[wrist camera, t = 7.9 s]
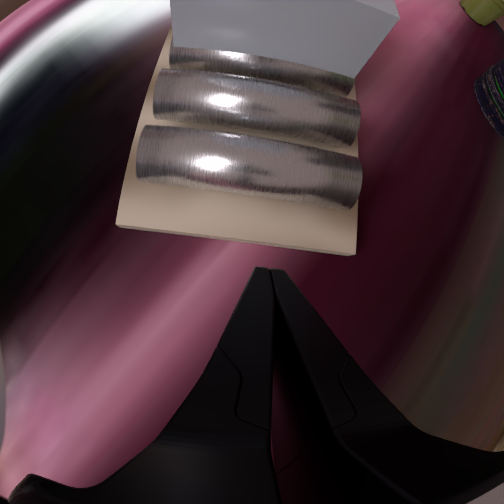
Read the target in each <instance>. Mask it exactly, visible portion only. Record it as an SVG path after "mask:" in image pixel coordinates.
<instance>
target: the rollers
mask: <svg viewBox="0 0 504 504" xmlns="http://www.w3.org/2000/svg"><path fill="white" fill-rule="evenodd" d="M169 65H170V68H162V69H161V70H160V72H159V74H158V77H157V80H156V83H155V88H154V94H153V115H154V118H155V119H159V120H172V121H183V122H193V123H203V124H211V125H219V126H227V127H234V128H241V129H248V130H255V131H261V132H267V133H273V134H278V135H284V136H289V137H294V138H299V139H304V140H309V141H314V142H318V143H323V144H327V145H332V146H336V147H340V148H344V149H347V148H349V147H350V146H351V145H352V144H353V142H354V140H355V138H356V136H357V133H358V130H359V126H360V119H361V111H360V106H359V103H358V102H357V101H355V100H352V99H348V98H345V97H347V96H348V94H349V93H350V91H351V89H352V87H353V85H354V82H355V78H356V77H355V78H351V77H348V76H344V75H341V74H338V73H334V72H330V71H327V70H323V69H319V68H315V67H311V66H307V65H302V64H298V63H294V62H289V61H284V60H279V59H274V58H269V57H263V56H257V55H251V54H244V53H237V52H230V51H221V50H212V49H201V48H188V47H174V44H173V35H172V39H171V44H170V51H169ZM136 176H137V180H138V181H139V182H141V183H152V184H162V185H171V186H180V187H189V188H198V189H206V190H214V191H222V192H229V193H237V194H244V195H251V196H258V197H265V198H272V199H278V200H285V201H291V202H297V203H304V204H310V205H316V206H321V207H327V208H333V209H338V210H344V211H348V210H350V209H351V208H352V207H353V206H354V205H355V203H356V201H357V199H358V197H359V194H360V190H361V185H362V166H361V162H360V160H359V159H358V158H357V157H355V156H351V155H347V154H342V153H338V152H334V151H329V150H325V149H320V148H316V147H311V146H306V145H301V144H296V143H291V142H285V141H280V140H274V139H268V138H262V137H256V136H250V135H243V134H236V133H229V132H221V131H213V130H205V129H196V128H186V127H175V126H163V125H149V124H147V125H145V127H144V128H143V130H142V132H141V135H140V138H139V142H138V146H137V152H136Z"/></svg>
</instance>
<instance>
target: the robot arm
mask: <svg viewBox="0 0 504 504" xmlns="http://www.w3.org/2000/svg"><path fill="white" fill-rule="evenodd" d="M270 431H271V433H270ZM271 436H272V445H273V455H274V464H275V470H274V465H273V461H272V456H271V442H270V439H271ZM275 473H276V474H275ZM0 504H504V451H500V452H489V451H484V450H480V449H476V448H473V447H469V446H465V445H462V444H459V443H455V442H452V441H449V440H445V439H442V438H439V437H436V436H433V435H430V434H427V433H425V432H423V431H421V430H420V429H418V428H417V427H415V426H414V425H413V424H412V423H411V422H409V421H408V420H407V419H406V418H405V416H404V415H403V414H402V413H401V412H400V411H399V410H398V409H397V408H396V407H395V406H394V405H393V404H392V403H391V402H390V401H389V400H388V398H387V397H386V396H385V395H384V394H383V393H382V392H381V391H380V390H379V389H378V388H377V387H376V386H375V384H374V383H373V382H372V381H371V380H370V379H369V378H368V377H367V375H366V374H365V373H364V372H363V370H362V369H361V368H360V367H359V365H358V364H357V363H356V362H355V360H354V359H353V358H352V356H351V355H350V354H348V351H347V350H346V349H345V347H344V346H343V345H342V344H341V342H340V341H339V340H338V338H337V337H336V336H335V335H334V333H333V332H332V331H331V329H330V328H329V327H328V326H327V324H326V323H325V322H324V320H323V319H322V318H321V316H320V315H319V314H318V313H317V311H316V310H315V309H314V308H313V306H312V305H311V304H310V302H309V301H308V300H307V299H306V297H305V296H304V295H303V293H302V292H301V291H300V290H299V288H298V287H297V286H296V285H295V283H294V282H293V281H292V279H291V278H290V277H289V276H288V274H287V273H286V272H285V271H284V270H282V269H274V268H271V269H268V268H266V267H255V268H254V269H253V271H252V273H251V276H250V278H249V280H248V282H247V284H246V286H245V288H244V290H243V292H242V294H241V297H240V299H239V301H238V303H237V305H236V307H235V309H234V311H233V313H232V315H231V318H230V320H229V322H228V324H227V326H226V328H225V330H224V332H223V334H222V336H221V338H220V340H219V342H218V345H217V347H216V348H215V350H214V352H213V355H212V357H211V359H210V361H209V362H208V364H207V366H206V368H205V370H204V372H203V373H202V375H201V377H200V378H199V380H198V381H197V383H196V384H195V386H194V387H193V389H192V390H191V392H190V393H189V394H188V396H187V397H186V399H185V400H184V401H183V403H182V404H181V406H180V407H179V408H178V410H177V411H176V413H175V414H174V415H173V417H172V418H171V419H170V421H169V422H168V423H167V425H166V426H165V427H164V429H163V430H162V431H161V432H160V433H159V435H158V436H157V437H156V438H155V439H154V440H153V441H152V442H151V443H150V444H149V445H148V446H147V447H145V448H144V449H143V450H142V451H141V452H139V453H138V454H137V455H136V456H134V457H133V458H132V459H131V460H129V461H128V462H127V463H126V464H124V465H123V466H122V467H120V468H119V469H118V470H117V471H115V472H114V473H113V474H111V475H110V476H109V477H107V478H106V479H105V480H104V481H102V482H100V483H99V484H97V485H95V486H91V487H87V488H75V487H70V486H67V485H64V484H61V483H58V482H55V481H53V480H50V479H47V478H44V477H42V476H39V475H35V474H28V475H27V476H26V477H25V478H24V479H23V480H22V481H21V482H20V483H19V484H18V485H17V486H16V487H15V489H14V490H13V491H12V493H11V494H10V496H9V498H8V499H7V498H5V497H3V496H1V495H0Z"/></svg>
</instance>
